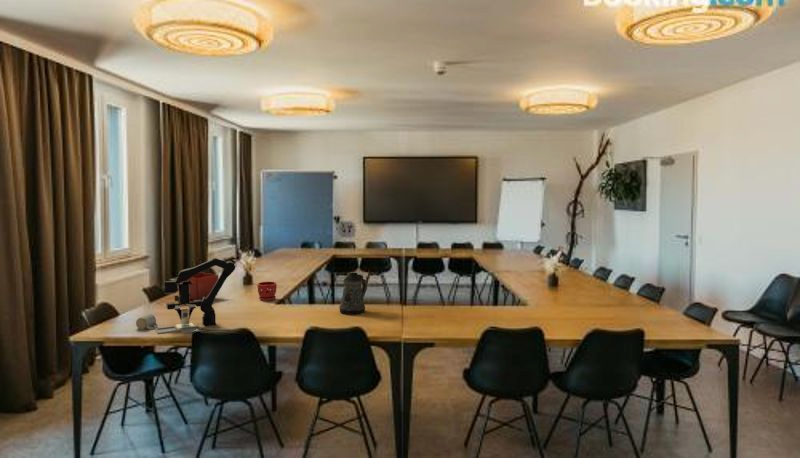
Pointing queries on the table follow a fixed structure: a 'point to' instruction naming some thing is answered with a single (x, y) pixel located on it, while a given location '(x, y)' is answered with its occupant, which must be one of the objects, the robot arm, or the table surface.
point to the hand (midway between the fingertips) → (184, 319)
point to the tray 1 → (166, 330)
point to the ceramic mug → (146, 322)
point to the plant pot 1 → (201, 285)
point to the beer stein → (353, 295)
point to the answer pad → (184, 325)
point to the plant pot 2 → (267, 290)
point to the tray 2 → (189, 329)
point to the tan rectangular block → (184, 316)
